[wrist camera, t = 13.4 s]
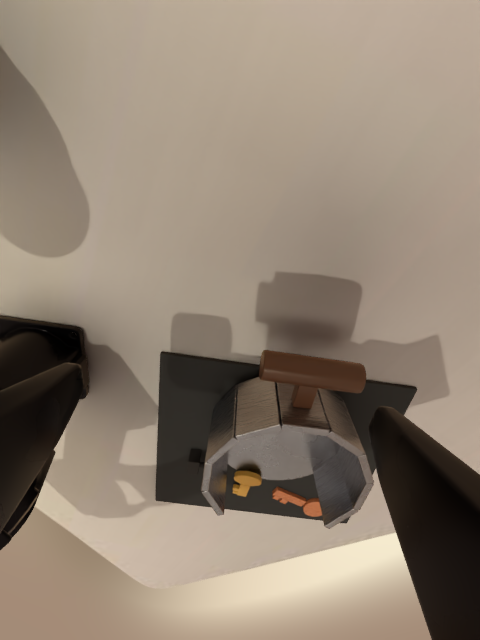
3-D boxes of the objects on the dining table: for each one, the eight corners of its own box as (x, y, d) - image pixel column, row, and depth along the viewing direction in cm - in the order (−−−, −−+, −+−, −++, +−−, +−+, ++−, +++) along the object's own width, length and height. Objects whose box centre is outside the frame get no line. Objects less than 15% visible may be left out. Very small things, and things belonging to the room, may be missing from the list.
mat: (156, 497, 31) (151, 514, 29) (161, 351, 23) (155, 364, 21) (345, 520, 31) (350, 538, 30) (415, 386, 23) (427, 401, 22)
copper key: (331, 503, 30) (332, 507, 29) (317, 515, 31) (317, 519, 30) (281, 481, 29) (282, 486, 28) (267, 495, 29) (268, 499, 29)
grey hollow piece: (204, 465, 26) (195, 526, 22) (225, 322, 20) (218, 366, 15) (326, 481, 27) (342, 543, 22) (385, 345, 20) (423, 394, 16)
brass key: (235, 468, 25) (235, 473, 25) (264, 474, 25) (263, 479, 25) (229, 488, 29) (229, 493, 29) (253, 494, 29) (253, 499, 29)
